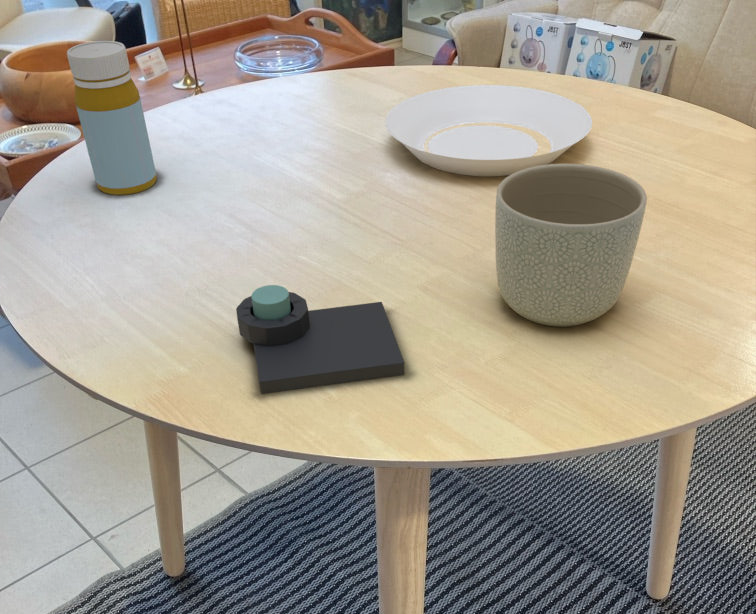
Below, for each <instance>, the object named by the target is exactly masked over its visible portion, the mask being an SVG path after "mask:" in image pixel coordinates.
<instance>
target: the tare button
mask: <svg viewBox="0 0 756 614" xmlns="http://www.w3.org/2000/svg"><path fill="white" fill-rule="evenodd" d="M289 292H290V291H289V290H288V289H287V288H286V287H284V286H281V285H276V284H269V285H263V286H260V287H258V288H255V290H253V292H252V293H251V295H250V296H251V298H252V305H253V311H254V315H255V317H256V318H257V319H262V320H277V319H281V318H283V317H286V316H288V315H289V314H290V312H291V307H290V299H289Z"/></svg>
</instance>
